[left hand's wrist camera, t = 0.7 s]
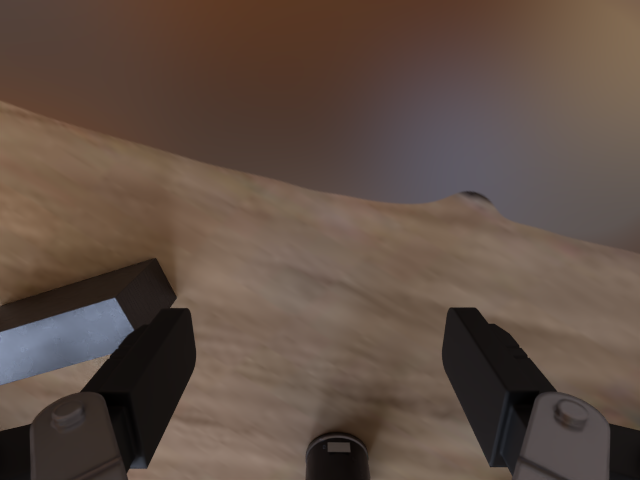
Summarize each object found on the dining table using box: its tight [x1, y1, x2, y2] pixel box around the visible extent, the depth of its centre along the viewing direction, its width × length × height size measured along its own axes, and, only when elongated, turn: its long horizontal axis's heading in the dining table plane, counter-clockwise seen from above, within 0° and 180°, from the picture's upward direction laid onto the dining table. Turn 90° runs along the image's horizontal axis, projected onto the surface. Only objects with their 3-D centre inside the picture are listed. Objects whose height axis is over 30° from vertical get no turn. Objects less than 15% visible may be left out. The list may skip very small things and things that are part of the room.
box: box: [0, 258, 177, 385], centre depth 42 cm, size 22×6×10 cm, turn 108°
